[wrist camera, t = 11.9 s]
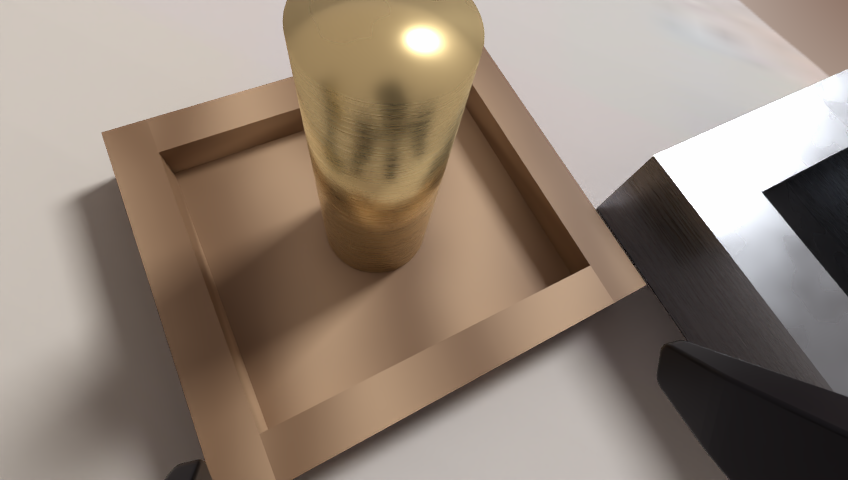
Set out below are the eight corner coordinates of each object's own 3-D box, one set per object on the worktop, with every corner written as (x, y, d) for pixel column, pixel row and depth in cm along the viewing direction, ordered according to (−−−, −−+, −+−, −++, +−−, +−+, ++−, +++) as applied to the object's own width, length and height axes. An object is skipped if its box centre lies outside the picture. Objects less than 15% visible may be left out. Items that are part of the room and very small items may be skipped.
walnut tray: (245, 502, 15) (223, 517, 12) (133, 168, 19) (101, 132, 16) (613, 301, 19) (646, 284, 17) (458, 64, 23) (469, 24, 21)
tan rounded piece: (391, 292, 17) (420, 140, 8) (305, 238, 17) (238, 35, 8) (442, 214, 19) (517, 11, 9) (362, 167, 19) (359, -72, 10)
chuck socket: (769, 460, 17) (895, 471, 13) (596, 208, 21) (654, 155, 17) (942, 326, 21) (1086, 303, 17) (768, 128, 24) (851, 67, 20)
